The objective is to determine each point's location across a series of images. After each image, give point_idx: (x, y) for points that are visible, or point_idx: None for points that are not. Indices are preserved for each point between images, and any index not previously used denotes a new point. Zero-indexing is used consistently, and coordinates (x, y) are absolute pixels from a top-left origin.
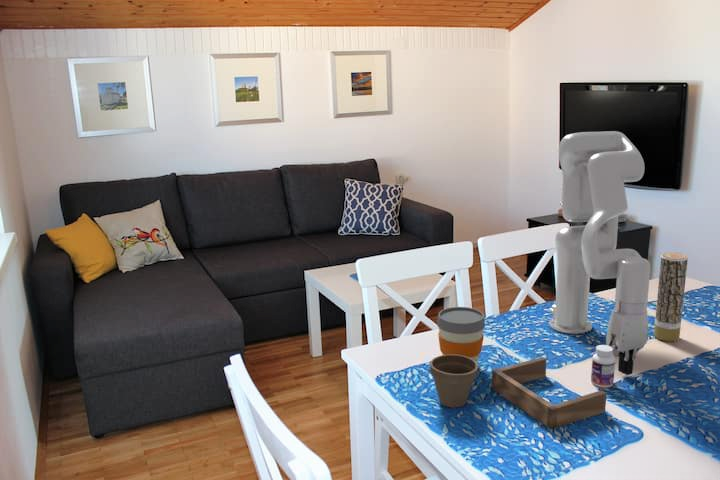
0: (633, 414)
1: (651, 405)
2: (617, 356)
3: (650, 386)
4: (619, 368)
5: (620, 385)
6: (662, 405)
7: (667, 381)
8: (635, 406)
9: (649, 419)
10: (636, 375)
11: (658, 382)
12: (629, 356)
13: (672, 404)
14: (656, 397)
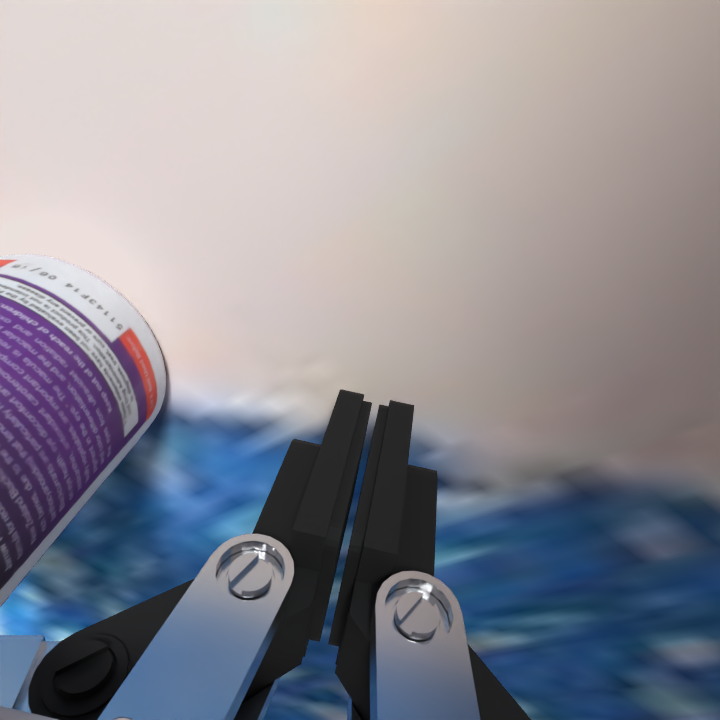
0: (7, 630)
1: None
2: (217, 549)
3: None
4: (290, 448)
5: (193, 465)
6: None
7: (562, 645)
8: (74, 614)
9: None
10: (484, 474)
11: (492, 614)
12: (345, 673)
13: (278, 711)
14: None
